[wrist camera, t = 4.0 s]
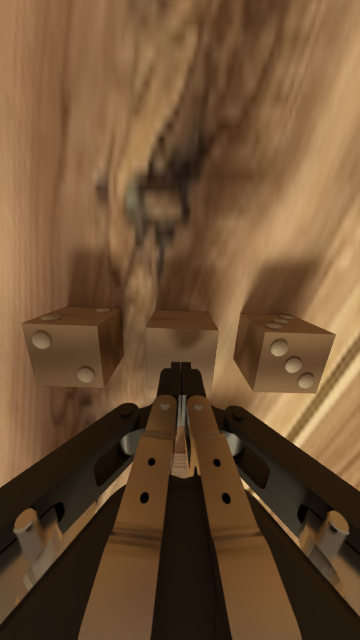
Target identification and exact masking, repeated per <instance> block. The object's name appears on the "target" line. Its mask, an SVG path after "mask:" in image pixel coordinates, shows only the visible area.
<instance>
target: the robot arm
mask: <svg viewBox="0 0 360 640" xmlns="http://www.w3.org/2000/svg"><path fill="white" fill-rule="evenodd" d="M180 414H181V426H185V437H184V440H185V449H186V458H187V466H188V478H180V477H177V476H174V475H172V473H173V462H174V451H175V440H176V435H177V426H180ZM132 462H133V464H132V467H131V471H130V474H129V477H128V481H127V484H126V485H124V486H123V487H121V488H120V489H118V490H117V491H116V492H115V493H114V494H113V495H112V496H111V497H110V498H109V499H108V500H107V501H106V502H105V503H104V504H103V506H102V507H101V508H100V509H99V510H98V511H97V513H96V514H95V515H94V513H95V510H96V506H97V503H96V500H97V499H98V498H99V496H100V495H101V494H102V493H103V492H104V491H105V490H106V489H107V488H108V487H109V486H110V485H111V484H112V483H113V482H114V481H115V480H116V479H117V478H118V477H119V476H120V474H121V473H122V472H123V471H124V470H125V469H126V468H127V467H128V466H129V465H130V464H131V463H132ZM240 477H241V478H242V479H243V480H244V481H245V482H246V483H247V485H248V486H249V487H250V488H251V489H252V490H253V491H254V492H255V493H256V494H257V495H258V496H259V497H260V498H261V499H262V500H263V502H264V503H265V504H266V505H267V506H268V507H269V508H270V509H271V510H272V511H273V512H274V513H275V514H276V515H277V516H278V517H279V518H280V520H281V521H282V522H283V523H284V524H285V525H286V526H287V527H288V528H289V529H290V530H291V531H292V532H293V533H294V534H295V535H296V537H297V538H298V539H299V542H300V546H301V549H302V550H301V549H300V548H299V547H298V546H297V545H296V543H295V542H294V541H293V540H292V539H291V538H290V537H289V535H288V534H287V533H286V532H285V531H284V530H283V529H282V528H281V526H280V525H279V524H278V523H277V522H276V521H275V520H274V518H273V517H272V516H271V515H270V514H269V513H268V512H267V510H266V509H265V508H264V507H263V506H262V505H261V504H260V503H259V501H258V500H257V499H256V498H255V497H254V496H253V495H252V494H251V493H250V492H248V491H247V490H246V489H244V487H243V484H242V481H241V478H240ZM0 640H360V491H358V490H357V489H355V488H354V487H353V486H351V485H350V484H348V483H347V482H346V481H344V480H343V479H342V478H340V477H339V476H337V475H336V474H335V473H333V472H332V471H330V470H329V469H328V468H326V467H325V466H323V465H322V464H321V463H319V462H318V461H316V460H315V459H314V458H312V457H311V456H309V455H308V454H307V453H305V452H304V451H302V450H301V449H300V448H298V447H297V446H295V445H294V444H293V443H291V442H290V441H288V440H287V439H286V438H284V437H283V436H281V435H280V434H279V433H277V432H276V431H274V430H273V429H272V428H270V427H269V426H268V425H266V424H265V423H263V422H262V421H261V420H259V419H258V418H256V417H255V416H254V415H252V414H251V413H249V412H248V411H247V410H245V409H244V408H242V407H239V406H229V407H228V408H226V410H221V409H218V408H216V407H214V406H212V405H211V404H210V402H209V401H208V399H207V398H206V393H205V389H204V384H203V379H202V375H201V372H200V371H199V370H198V369H192V368H191V362H171V368H164V369H163V370H162V371H161V372H160V379H159V385H158V391H157V397H156V399H155V400H154V402H153V403H152V404H151V405H149V406H147V407H144V408H140V409H139V408H138V406H137V405H135V404H133V403H125V404H122V405H120V406H118V407H117V408H115V409H114V410H112V411H111V412H109V413H108V414H106V415H105V416H104V417H102V418H101V419H99V420H98V421H96V422H95V423H93V424H92V425H91V426H89V427H88V428H86V429H85V430H83V431H82V432H80V433H79V434H77V435H76V436H75V437H73V438H72V439H70V440H69V441H67V442H66V443H64V444H63V445H62V446H60V447H59V448H57V449H56V450H54V451H53V452H51V453H50V454H48V455H47V456H46V457H44V458H43V459H41V460H40V461H38V462H37V463H35V464H34V465H33V466H31V467H30V468H28V469H27V470H25V471H24V472H22V473H21V474H19V475H18V476H17V477H15V478H14V479H12V480H11V481H9V482H8V483H6V484H5V485H4V486H2V487H1V488H0Z"/></svg>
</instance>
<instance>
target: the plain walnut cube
mask: <svg viewBox="0 0 360 640" xmlns="http://www.w3.org/2000/svg"><path fill="white" fill-rule="evenodd" d="M218 333H219V330H218V328H217V327H216V325H215V324H214V322H213V321H212V319H211V317H210V316H209V314H208V313H207V312H195V311H171V310H155V311H154V313H153V315H152V317H151V318H150V320H149V322H148V324H147V326H146V380H147V389H158V385H159V379H160V372H161V371H162V370H163V369H164V368H171V362H191V368H192V369H198V370H199V371H200V372H201V375H202V379H203V384H204V389H205V391H211V390H212V382H213V374H214V366H215V357H216V349H217V341H218Z"/></svg>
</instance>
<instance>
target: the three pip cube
mask: <svg viewBox="0 0 360 640" xmlns="http://www.w3.org/2000/svg"><path fill="white" fill-rule="evenodd" d="M335 336H336V334H334V333H331V332H329V331H327V330H324V329H322V328H320V327H317V326H315V325H313V324H311V323H308V322H306V321H304V320H301V319H299V318H297V317H294V316H292V315H283V314H281V315H274V314H248V313H240V320H239V326H238V332H237V339H236V345H235V352H234V358H233V359H234V361H235V362H236V364H237V366H238V367H239V369H240V371H241V372H242V374H243V376H244V377H245V379H246V381H247V383H248V384H249V386H250V388H251V389H252V391H253V392H281V393H316V392H317V389H318V386H319V383H320V380H321V377H322V374H323V371H324V368H325V365H326V362H327V359H328V356H329V353H330V351H331V348H332V345H333V342H334V339H335Z"/></svg>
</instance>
